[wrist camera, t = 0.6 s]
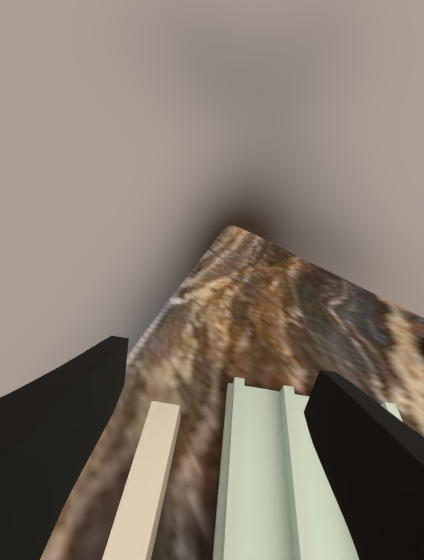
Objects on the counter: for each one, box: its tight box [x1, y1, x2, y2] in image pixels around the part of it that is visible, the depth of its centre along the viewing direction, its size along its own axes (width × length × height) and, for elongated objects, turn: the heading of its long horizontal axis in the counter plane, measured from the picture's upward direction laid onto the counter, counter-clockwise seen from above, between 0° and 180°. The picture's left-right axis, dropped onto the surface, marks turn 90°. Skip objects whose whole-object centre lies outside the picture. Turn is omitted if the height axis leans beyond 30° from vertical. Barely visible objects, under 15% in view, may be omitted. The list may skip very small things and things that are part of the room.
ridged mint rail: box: [212, 377, 403, 560], centre depth 17 cm, size 18×17×2 cm
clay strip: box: [102, 401, 180, 560], centre depth 16 cm, size 14×2×4 cm, turn 172°
